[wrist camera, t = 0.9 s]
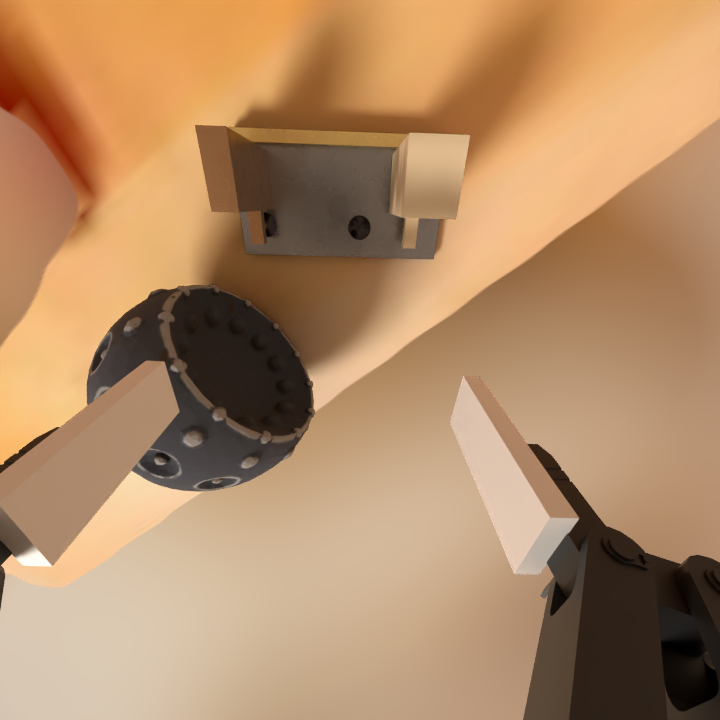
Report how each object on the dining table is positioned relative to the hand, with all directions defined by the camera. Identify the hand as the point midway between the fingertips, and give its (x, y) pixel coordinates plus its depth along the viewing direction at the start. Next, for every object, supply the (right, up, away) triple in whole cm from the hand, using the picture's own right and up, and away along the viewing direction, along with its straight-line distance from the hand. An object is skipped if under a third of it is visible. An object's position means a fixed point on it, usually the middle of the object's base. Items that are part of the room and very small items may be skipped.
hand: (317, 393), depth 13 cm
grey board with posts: (0, +18, +18) cm, 26 cm away
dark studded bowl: (-13, +4, +26) cm, 29 cm away
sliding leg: (+7, +18, +16) cm, 25 cm away
